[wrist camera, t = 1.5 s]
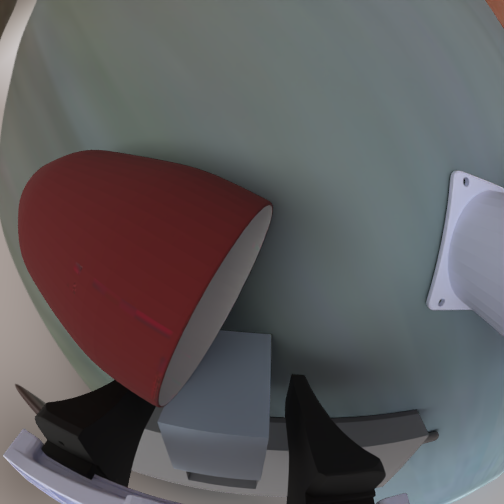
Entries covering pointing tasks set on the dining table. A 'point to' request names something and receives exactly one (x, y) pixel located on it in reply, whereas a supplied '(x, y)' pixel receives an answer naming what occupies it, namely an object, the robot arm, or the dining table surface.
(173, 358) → the mug
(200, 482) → the power strip
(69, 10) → the dining table surface
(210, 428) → the block
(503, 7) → the blue-topped brown box
